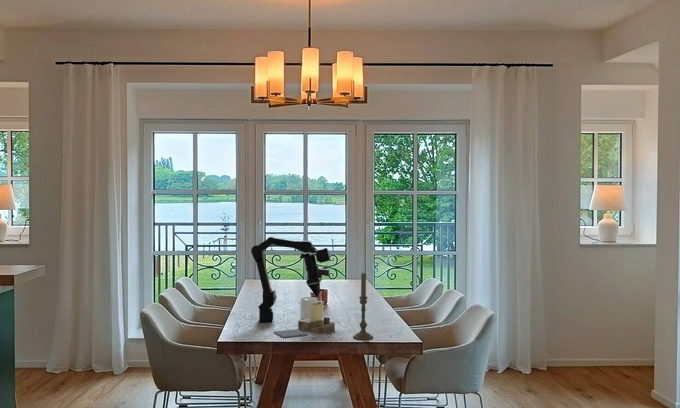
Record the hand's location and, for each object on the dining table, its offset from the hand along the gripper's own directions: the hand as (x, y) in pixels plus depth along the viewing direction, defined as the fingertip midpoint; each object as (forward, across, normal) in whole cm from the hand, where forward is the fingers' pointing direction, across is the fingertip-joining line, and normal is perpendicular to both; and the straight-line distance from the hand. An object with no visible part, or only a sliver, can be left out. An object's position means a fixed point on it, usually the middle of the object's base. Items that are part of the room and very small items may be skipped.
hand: (318, 295), depth 311 cm
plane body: (+14, -18, +2) cm, 23 cm away
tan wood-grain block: (+11, -18, +2) cm, 21 cm away
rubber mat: (+11, -28, +13) cm, 33 cm away
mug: (+13, +6, +7) cm, 16 cm away
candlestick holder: (+19, -33, -20) cm, 43 cm away
